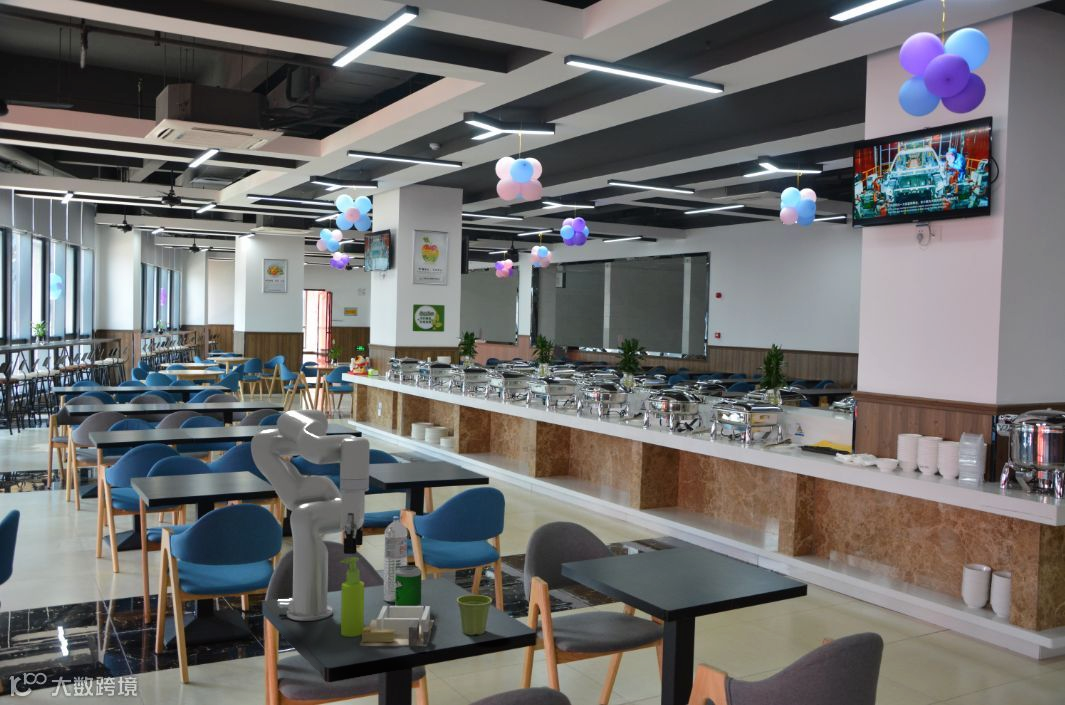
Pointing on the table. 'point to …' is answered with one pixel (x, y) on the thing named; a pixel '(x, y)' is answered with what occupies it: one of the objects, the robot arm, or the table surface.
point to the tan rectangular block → (378, 635)
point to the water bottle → (394, 556)
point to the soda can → (408, 586)
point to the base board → (405, 636)
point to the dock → (403, 618)
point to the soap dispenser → (352, 601)
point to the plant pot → (474, 613)
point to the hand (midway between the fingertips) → (353, 549)
